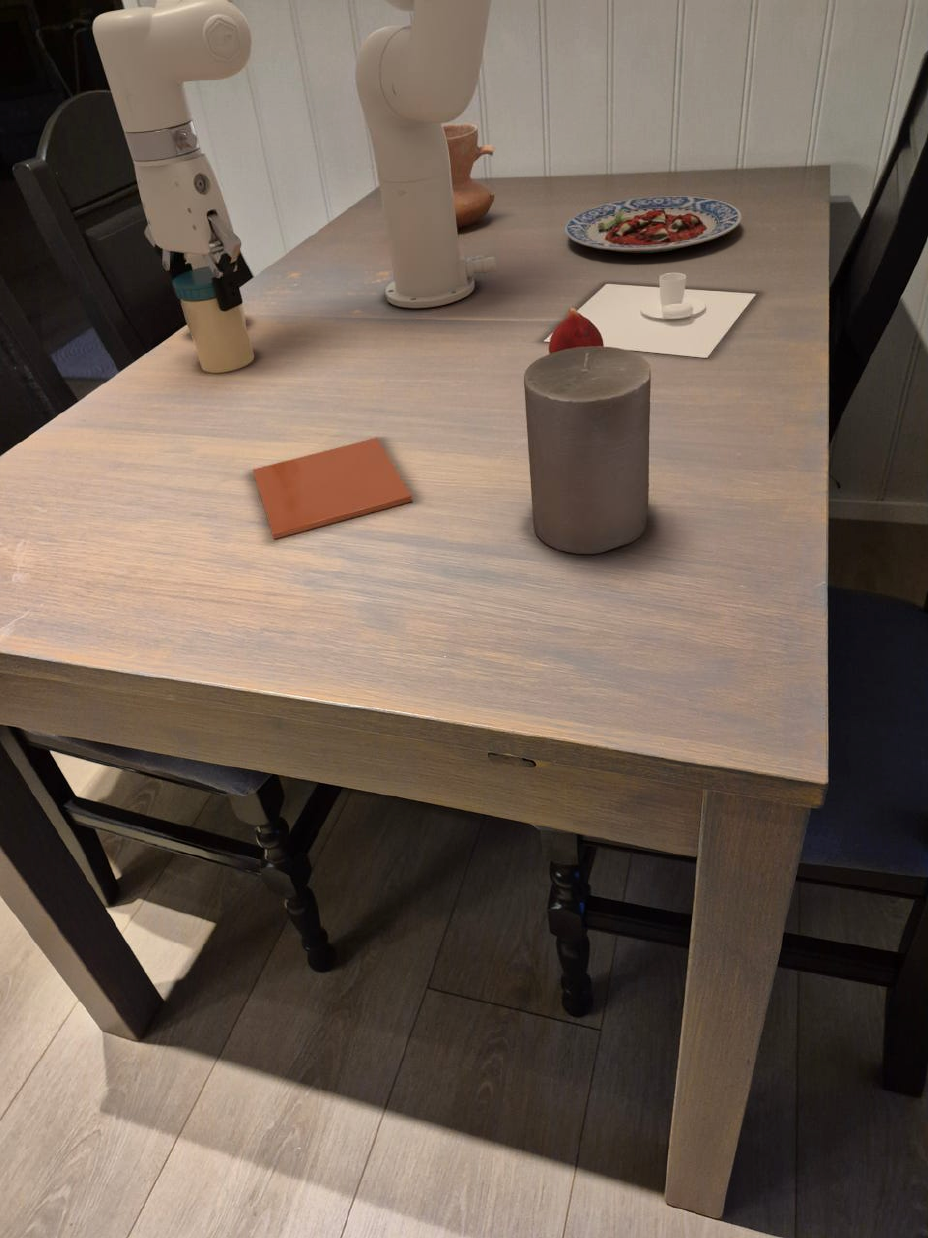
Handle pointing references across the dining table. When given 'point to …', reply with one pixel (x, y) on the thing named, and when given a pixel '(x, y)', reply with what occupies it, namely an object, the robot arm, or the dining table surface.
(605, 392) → the pillar candle
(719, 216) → the ceramic plate
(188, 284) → the lid
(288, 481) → the tile
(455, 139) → the ceramic jug
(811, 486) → the dining table surface
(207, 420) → the dining table surface
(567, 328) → the onion
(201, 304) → the jar
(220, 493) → the dining table surface
